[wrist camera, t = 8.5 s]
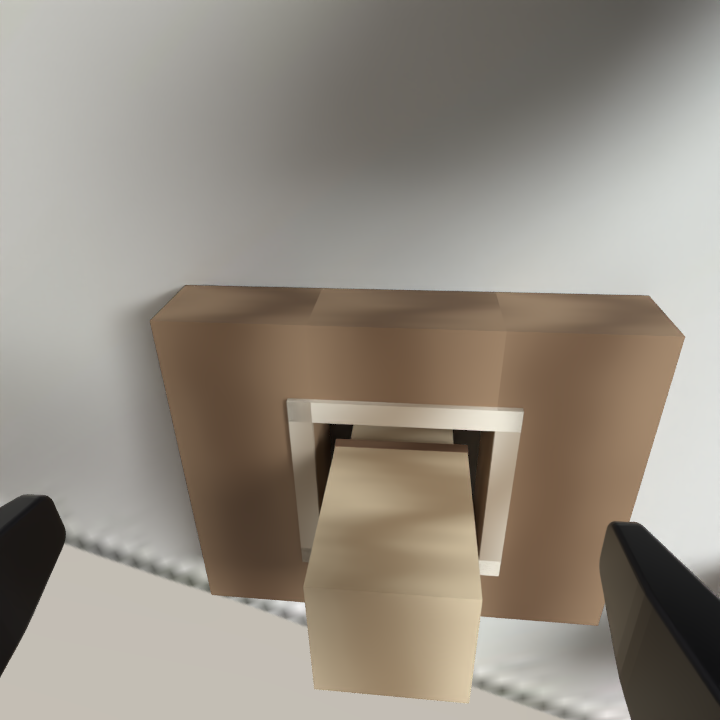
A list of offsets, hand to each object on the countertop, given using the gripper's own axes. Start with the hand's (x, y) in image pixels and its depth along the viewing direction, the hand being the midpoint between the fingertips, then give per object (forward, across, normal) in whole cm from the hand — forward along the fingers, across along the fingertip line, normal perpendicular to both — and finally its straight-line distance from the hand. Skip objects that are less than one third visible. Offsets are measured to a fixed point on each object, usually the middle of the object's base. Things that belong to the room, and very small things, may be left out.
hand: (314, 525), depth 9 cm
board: (+12, -1, +7) cm, 14 cm away
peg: (+12, -1, +7) cm, 14 cm away
